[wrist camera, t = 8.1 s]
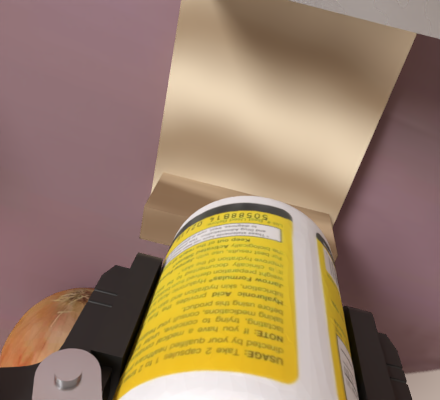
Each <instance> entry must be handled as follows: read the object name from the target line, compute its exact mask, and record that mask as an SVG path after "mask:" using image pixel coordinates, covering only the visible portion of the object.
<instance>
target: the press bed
mask: <svg viewBox="0 0 440 400" xmlns="http://www.w3.org/2000/svg"><path fill="white" fill-rule="evenodd" d="M416 35H417V33H414V32H410V31H406V30H403V29H399V28H395V27H391V26H387V25H383V24H379V23H375V22H371V21H367V20H363V19H360V18H356V17H352V16H348V15H344V14H340V13H336V12H332V11H328V10H324V9H321V8H317V7H313V6H309V5H305V4H301V3H297V2H293V1H289V0H181V6H180V12H179V19H178V25H177V31H176V38H175V44H174V51H173V57H172V63H171V70H170V76H169V83H168V89H167V95H166V102H165V108H164V115H163V121H162V128H161V134H160V140H159V147H158V153H157V160H156V166H155V172H154V179H153V185H152V192H151V195H150V197H149V199H148V201H147V203H146V204H145V206H144V212H143V219H142V225H141V232H140V238H141V239H145V240H149V241H153V242H156V243H160V244H164V245H168V246H171V244H172V242H173V240H174V238H175V236H176V234H177V232H178V231H179V229H180V227H181V226H182V225H183V223H184V222H185V221H186V220H187V219H188V218H189V217H190V216H191V215H192V214H194V213H195V212H196V211H198V210H199V209H201V208H202V207H204V206H206V205H208V204H210V203H212V202H215V201H218V200H221V199H224V198H229V197H236V196H259V197H265V198H270V199H274V200H277V201H281V202H283V203H286V204H288V205H290V206H292V207H294V208H296V209H298V210H299V211H301V212H302V213H304V214H305V215H306V216H308V217H309V218H310V219H311V220H312V221H313V222H314V223H315V224H316V225H317V226H318V227H319V229H320V230H321V231H322V233H323V234H324V236H325V237H326V239H327V241H328V244H329V246H330V249H331V252H332V256H333V260H334V263H335V260H336V258H337V256H338V254H337V249H336V244H335V240H334V235H333V230H332V228H333V225H334V223H335V221H336V218H337V216H338V214H339V211H340V209H341V207H342V205H343V202H344V200H345V198H346V195H347V193H348V191H349V189H350V186H351V184H352V182H353V179H354V177H355V175H356V172H357V170H358V168H359V166H360V163H361V161H362V159H363V156H364V154H365V152H366V149H367V147H368V145H369V143H370V140H371V138H372V136H373V133H374V131H375V129H376V127H377V124H378V122H379V120H380V117H381V115H382V113H383V110H384V108H385V106H386V104H387V101H388V99H389V97H390V94H391V92H392V90H393V88H394V85H395V83H396V81H397V78H398V76H399V74H400V71H401V69H402V67H403V65H404V62H405V60H406V58H407V55H408V53H409V51H410V49H411V46H412V44H413V42H414V39H415V37H416Z"/></svg>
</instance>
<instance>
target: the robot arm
mask: <svg viewBox="0 0 440 400" xmlns="http://www.w3.org/2000/svg"><path fill="white" fill-rule="evenodd" d="M162 261H163V259H162V258H158V257H154V256H150V255H146V254H142V253H138V254H137V255H136V257H135V260H134V262H133V264H132V266H131V268H130V269H129V268H125V267H121V266H117V265H115V266H114V267H113V268H111V269H110V270H108V271H107V272H106V273H104V274H103V275H102V276H101V278H100V280H99V282H98V283H97V285H96V287H95V289H94V291H93V292H92V294H91V296H90V297H89V299H88V302H87V303H86V305H85V306H84V308H83V310H82V312H81V313H80V315H79V317H78V319H77V320H76V322H75V324H74V326H73V328H72V329H71V331H70V333H69V335H68V336H67V338H66V340H65V342H64V343H63V345H62V346H61V348H60V349H59V350H58V351H57V352H54V353H52V354H51V355H49V356H48V357H46V358H45V359H44V360H43V361H42V362H40V363H37V364H33V365H29V366H20V367H0V400H112V399H113V397H114V394H115V391H116V389H117V386H118V384H119V381H120V378H121V376H122V373H123V371H124V368H125V365H126V363H127V360H128V357H129V355H130V352H131V349H132V347H133V344H134V341H135V339H136V336H137V333H138V331H139V328H140V325H141V323H142V320H143V317H144V314H145V312H146V309H147V306H148V304H149V301H150V298H151V296H152V293H153V290H154V288H155V285H156V282H157V280H158V277H159V274H160V272H161V267H162ZM343 312H344V318H345V324H346V330H347V336H348V341H349V347H350V353H351V358H352V364H353V368H354V374H355V380H356V386H357V392H358V397H359V400H412V397H411V394H410V391H409V387H408V385H407V384H406V378H405V374H404V371H403V370H402V365H401V361H400V358H399V355H398V352H397V350H396V348H395V347H394V345H393V344H392V343H391V341H390V340H389V338H388V337H387V336H386V334H382V333H378V332H377V329H376V325H375V321H374V318H373V315H372V313H371V312H368V311H364V310H360V309H356V308H352V307H348V306H344V307H343Z"/></svg>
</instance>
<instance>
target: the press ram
mask: <svg viewBox="0 0 440 400" xmlns="http://www.w3.org/2000/svg"><path fill="white" fill-rule="evenodd" d="M289 1H293V2H297V3H301V4H305V5H309V6H313V7H317V8H321V9H324V10H328V11H332V12H336V13H340V14H344V15H348V16H352V17H356V18H360V19H363V20H367V21H371V22H375V23H379V24H383V25H387V26H391V27H395V28H399V29H403V30H406V31H410V32H414V33H418V34H422V35H426V36H430V37H434V38H438V39H440V0H289Z"/></svg>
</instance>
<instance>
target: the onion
mask: <svg viewBox="0 0 440 400" xmlns="http://www.w3.org/2000/svg"><path fill="white" fill-rule="evenodd" d="M94 289H95V288H74V289H69V290H65V291H61V292H58V293H55V294H53V295H51V296H49V297H47V298H45V299H43V300H42V301H40V302H39V303H37V304H36V305H35V306H33V307H32V308H31V309H29V310H28V311H27V312H26V313H25V314H24V315H23V317H22V318H21V319H20V320H19V322H18V323H17V324H16V326H15V327H14V329H13V330H12V332H11V333H10V335H9V336H8V338H7V340H6V342H5V344H4V346H3V348H2V352H1V356H0V367H20V366H29V365H33V364H37V363H40V362H42V361H43V360H44V359H45V358H46V357H48V356H49V355H51V354H52V353H54V352H57V351H58V350H59V349H60V348H61V346H62V345H63V343H64V342H65V340H66V338H67V336H68V335H69V333H70V331H71V329H72V328H73V326H74V324H75V322H76V320H77V319H78V317H79V315H80V313H81V312H82V310H83V308H84V306H85V305H86V303H87V302H88V299H89V297H90V296H91V294H92V292H93V291H94Z"/></svg>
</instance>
